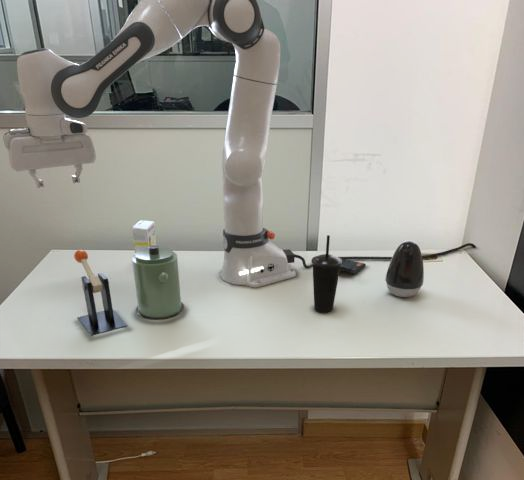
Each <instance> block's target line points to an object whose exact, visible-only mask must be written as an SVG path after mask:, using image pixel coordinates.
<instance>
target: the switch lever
mask: <svg viewBox="0 0 524 480" xmlns="http://www.w3.org/2000/svg"><path fill="white" fill-rule="evenodd" d="M73 258H74V260H75V262H77V263H79V264H81V265H82V267H83V269H84V271H85V273H86V276H87V278H88V280H89V281H90V282H91V285H92V291H93V294H96V293H101V291H102V283H101V281H100V279H99V277H98V275H97V276H95V274H94V272H93V270H92V269H91V267H90V265H89V263H88V260H89V254H88V253H87V252H86V251H85V250H84V249H78V250H76V251H75V252H74V255H73Z"/></svg>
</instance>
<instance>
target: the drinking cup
mask: <svg viewBox="0 0 524 480" xmlns="http://www.w3.org/2000/svg"><path fill="white" fill-rule="evenodd" d="M330 238H331V235H330V234H329V235H326V245H325V253H323V254H319V255H315V256H313V257H312V258H311V260H310V261H311V265H312V264H313V266H312V280H313V281H312V282H313V283H312V286H313V307H314V308H313V309H314V311H315V312H317V313H319V314H329V313H332V312H333V311H334V305H335V300H336V299H335V298H336V293H337V287H338V282H339V276H340V272H341V271H340V266H341V264H342V260H341V259H340V258H339V257H340V256H336V255H335V254H334V255H333V254H330V253H329V252H330Z"/></svg>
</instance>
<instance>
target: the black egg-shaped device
mask: <svg viewBox="0 0 524 480" xmlns="http://www.w3.org/2000/svg"><path fill="white" fill-rule="evenodd" d="M422 255H423V253H422V251H421V248H420V246H419V245H418V243H416V242H415V241H414V240H404V241H403V242H402V243H400V244H399V246H398V247H397V248H396V249H395V251H394V253H393V255H392V256H391V257H392V259H391V260H390V262H389V264H388V267H387V270H386V273H385V278H384V279H385V280H384V281H385V284H386V287H387V289H388V291H389V292H390V293H391V294H392V295H394V296H396V297H399V298H410V297H413V296H415V295H417V294H418V293H419V291H420V290H421V288H422V286H423V285H424V281H425V266H424V260H423V259H424V258H422Z"/></svg>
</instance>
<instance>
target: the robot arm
mask: <svg viewBox="0 0 524 480" xmlns="http://www.w3.org/2000/svg"><path fill="white" fill-rule="evenodd" d="M198 27H204V28H205V29H206V30H207V31H208V32H209V33H210V34H211V35H212V36H214V37H215V38H217V39H219V40H221V41H223V42H226V43H228V44H229V43H230V44H232V46H233V48H234V50H235V51H234V52H235V66H234V71H233V77H232V86H231V92H230V98H229V105H228V113H227V121H226V129H225V135H224V136H225V138H224V144H223V146H222V149H221V168H222V169H221V171H222V172H221V173H222V198H223V199H222V200H223V201H222V202H223V225H224V227H223V229H222V246H223V251H224V252H223V262H222V269H221V272H220V278H221V279H222V280H223V281H224V282H226V283H229V284H232V285H238V286H248V287H250V288H259V287H263V286H266V285H270V284H274V283H277V282H281V281H285V280H289V279H292V278H294V277H296V269H295V268H294V267H293V266H292V265H291V264H293V263H295V259H296V258H297V259H299V260H301V262H302V266H303V267H304V268H305V269H310V268H313V264H312V263H311V264H310V265H307V263H306V260H305V258H304V256H301V255H299V254H296V253H294V252H293V251H292V250H291V249H282V248H280V247H278V245H277V244H275V243H274V242H272V240H274V239H275V238H276V237H275V236H276V233H274V231H273V232H272V231H271V230H269V229H267V228H265V227H264V195H263V173H264V170H265V166H266V158H267V151H268V145H269V137H270V129H271V122H272V121H271V120H272V115H273V109H274V103H275V99H276V98H275V97H276V91H277V87H278V83H279V82H278V81H279V76H280V75H279V74H280V65H281V64H280V63H281V41H280V40H279V38H278V35H276V33H274V32H273V31H271V30H269V29H268V28H265V24H264V21H263V17H262V14H261V10H260V6H259V2H258V1H257V0H140V1H139V2H138V3H137V4H136V5H135V7H134V8H133V9H132V11H131V13H130V14H129V15H128V17H127V19H126V21H125V22H124V24H123V26H122V28H121V29H120V30H119V32H118V33H117V34H116V36H115V37H114V38H113V39H112V40H111V41H110V42H107V44H106V45H105V46H104V47H102V48H101V49H100V50H99V51H98V52H96V53H95V54H94V55H93V56H92V57H90V58H89V59H88V60H86V61H84V62H83V63H81V64H79V63H76V62H72V61H70V60H67V59H65V58H64V57H61V56H60V55H58V54H56V53H55V52H53V51H52V50H51V49H49V48H46V47H44V48H43V47H42V48H38V49H32V50H27V51H24V52H22V53H21V54H20V55H19V56H18V58H17V60H16V70H17V71H16V72H17V78H18V85H19V89H20V95H21V96H22V98H23V101H24V107H25V108H24V115H25V119H26V124H27V127H21V128H10V129H8V130H7V131H6V132H5V133H3V142H4V143H3V144H4V146H5V148H6V149H7V153H8V161H9V165H10V168H11V169H12V170H14V171H16V172H23V171H25V172H26V171H28V174H29V175H30V177H32V179H33V180H34V182H35V186H36V188H37V189H41V188H42V189H43V188H45V185H44V180H43V179H42V178H38V177H37V176H36V175H37V170H42V169H51V168H59V167H70V166H73V167H74V168H75V172H74V174H73V175H71V181H72V183H73V184H80V183H81V179H80V177H81V174H82V171H83V165H87V164H95V162H96V160H97V155H96V150H95V146H94V142H93V139H92V137H91V136H90V135H89V134H87V133H88V125H87V124H85V123H84V122H82V121H79V120H76V119H84V118H87V117H89V116H91V115H92V114H93V113H94V112H95V111H96V109H97V108H98V106H99V104H100V102H101V99H102V97H103V94H104V93H105V92H106V90H108V88H109V87H110V86H111V85H112V84H114V83H115V82H116V81H117V80H118V79H120V78H121V77H122V76H123V75H124V74H126V73H127V72H128V71H129V70H131V68H132V67H134V66H135V65H137V64H139V63H140V62H143V61H144V60H147V59H149V58H152V57H155V56H158V55H159V54H162V53H164V52H166V51H167V50H169V49H171V48H172V47H173V46H175V45H176V44H177V43H179V42H180V41H181V40H183V38H185V37H186V36H187V35H188V34H190V33H191V32H192V31H193V30H196V29H197V28H198ZM66 116H68V118H67V117H66ZM69 117H71V118H69ZM73 118H74V119H73ZM270 240H271V241H270ZM466 247H472V248H473V249H476V248H477V246H476V245H475V244H474V243H472V242H467V243H465V244H463V245H460V246H458V247H455V248H451V249H448V250H444V251H441V252H436V253H430V254H422V258H423V259H426V258H427V259H428V258H433V257H439V256H443V255H446V254H450V253H454V252H458V251H459V250H462V249H464V248H466ZM338 257H339V258H341V259H346V260H389V261H391V259H392V257H393V256H338Z"/></svg>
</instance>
